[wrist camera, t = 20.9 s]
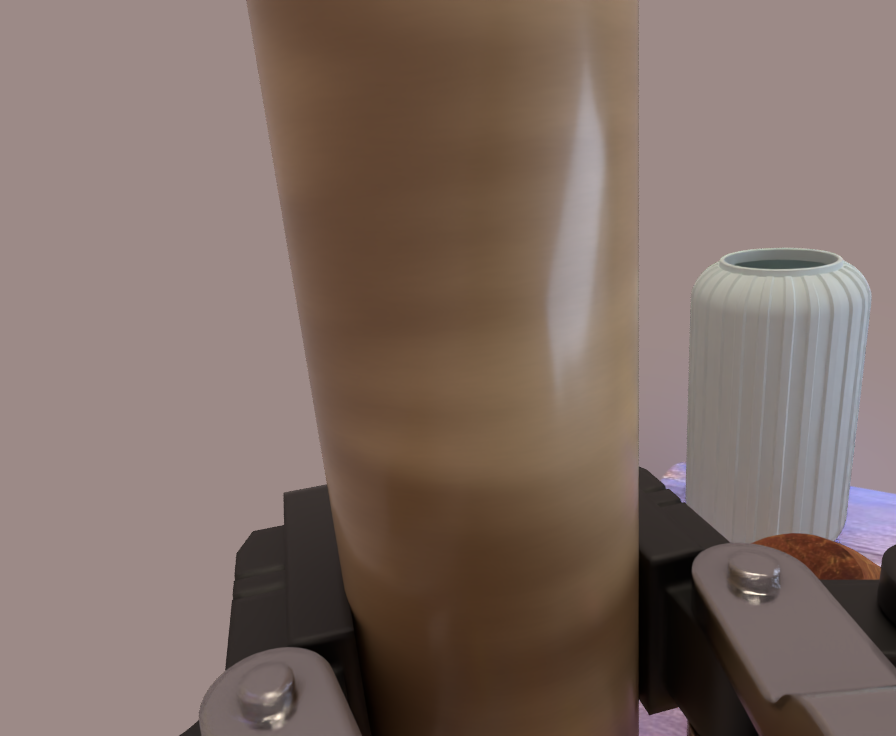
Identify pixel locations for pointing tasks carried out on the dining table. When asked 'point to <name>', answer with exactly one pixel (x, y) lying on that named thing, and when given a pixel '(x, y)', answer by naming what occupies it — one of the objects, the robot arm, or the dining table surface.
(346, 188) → the stirring stick
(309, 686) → the robot arm
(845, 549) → the pastry
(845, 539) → the dining table surface
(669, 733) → the dining table surface
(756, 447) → the vase
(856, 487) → the dining table surface
